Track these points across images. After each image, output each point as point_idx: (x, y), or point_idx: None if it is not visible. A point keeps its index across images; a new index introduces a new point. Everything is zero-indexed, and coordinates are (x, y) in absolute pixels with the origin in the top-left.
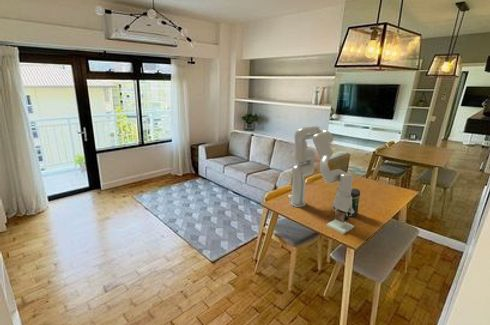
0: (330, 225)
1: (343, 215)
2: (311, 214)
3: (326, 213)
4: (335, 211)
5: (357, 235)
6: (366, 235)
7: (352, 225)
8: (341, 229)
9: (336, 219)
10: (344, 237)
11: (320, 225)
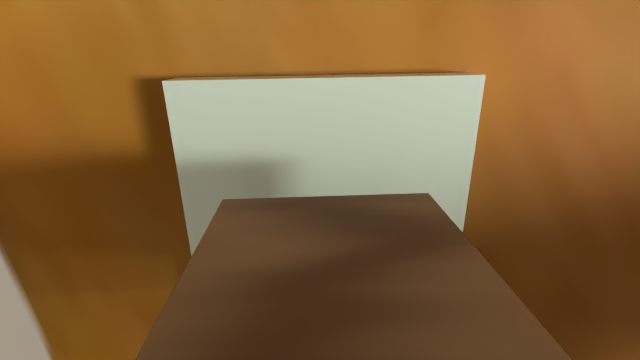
0: (415, 82)
1: (168, 325)
2: None
3: (605, 329)
4: (534, 329)
5: (64, 208)
6: (19, 287)
7: None
8: (230, 120)
9: (379, 196)
10: (107, 13)
11: (546, 6)
